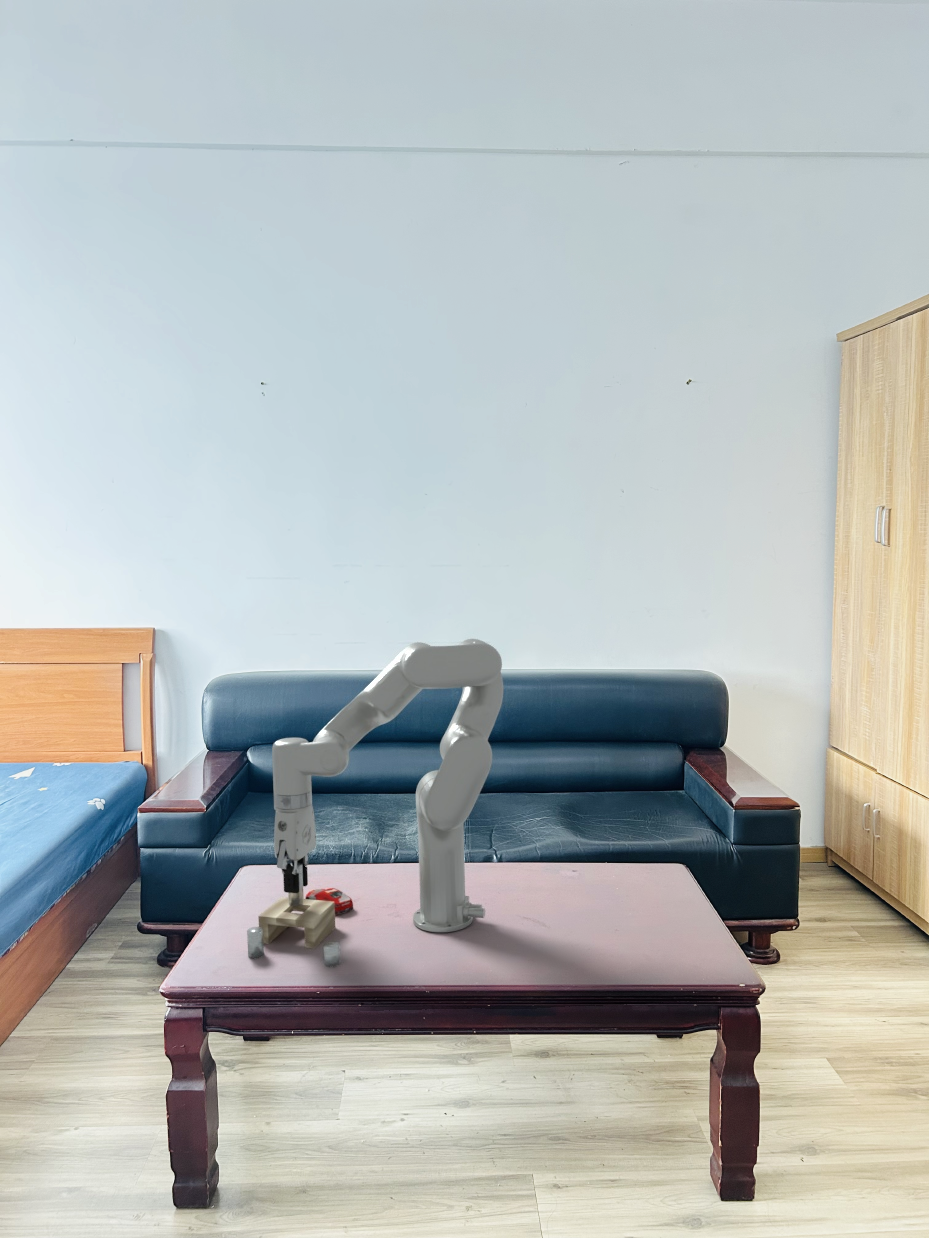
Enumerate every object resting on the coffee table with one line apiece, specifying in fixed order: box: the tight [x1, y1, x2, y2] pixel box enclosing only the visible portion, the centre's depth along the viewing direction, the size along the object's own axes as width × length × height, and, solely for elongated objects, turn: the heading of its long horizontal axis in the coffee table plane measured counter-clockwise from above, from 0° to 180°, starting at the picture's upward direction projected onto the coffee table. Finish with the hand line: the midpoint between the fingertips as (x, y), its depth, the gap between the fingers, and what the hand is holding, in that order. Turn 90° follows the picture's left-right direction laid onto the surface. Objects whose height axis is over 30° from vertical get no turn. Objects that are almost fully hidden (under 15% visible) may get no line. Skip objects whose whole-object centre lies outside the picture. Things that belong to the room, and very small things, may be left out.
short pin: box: [323, 941, 341, 968], centre depth 164 cm, size 3×3×4 cm
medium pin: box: [246, 926, 265, 960], centre depth 168 cm, size 3×3×5 cm
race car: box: [304, 887, 354, 915], centre depth 191 cm, size 13×5×4 cm, turn 45°
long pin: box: [287, 862, 305, 906], centre depth 176 cm, size 3×3×8 cm
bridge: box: [258, 896, 336, 949], centre depth 176 cm, size 12×10×6 cm
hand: (295, 887), depth 176 cm, fingers closed on long pin, 3 cm apart
